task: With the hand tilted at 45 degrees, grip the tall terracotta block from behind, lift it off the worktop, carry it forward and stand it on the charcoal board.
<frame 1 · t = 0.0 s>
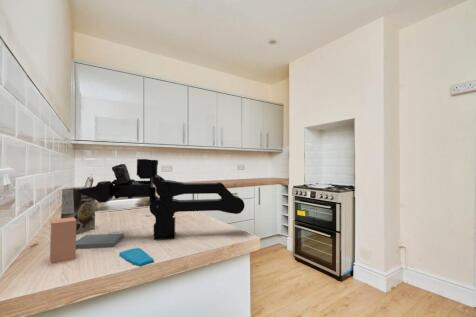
hand: (86, 189, 75), 17 cm above the counter, tool horizontal, fingers open, 9 cm apart
terracotta block: (62, 258, 60), on the counter
coffee box: (78, 231, 85), on the counter
sponge: (135, 260, 60), on the counter
slate board: (98, 242, 73), on the counter
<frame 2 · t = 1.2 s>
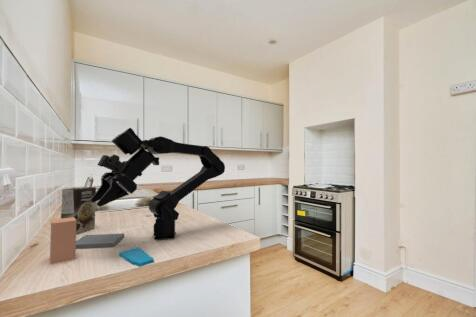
hand: (94, 203, 65), 14 cm above the counter, tool tilted 45°, fingers open, 9 cm apart
nothing on the counter moved.
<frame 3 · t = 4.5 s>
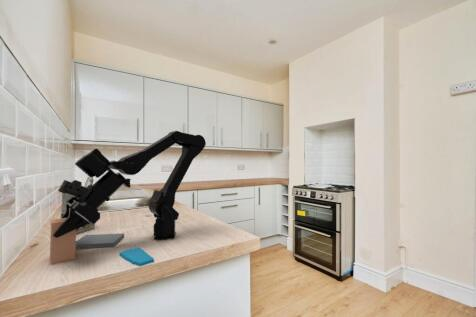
hand: (54, 234, 59), 7 cm above the counter, tool tilted 45°, fingers closed on terracotta block, 5 cm apart
terracotta block: (62, 258, 60), on the counter, touching gripper
everything else where it was.
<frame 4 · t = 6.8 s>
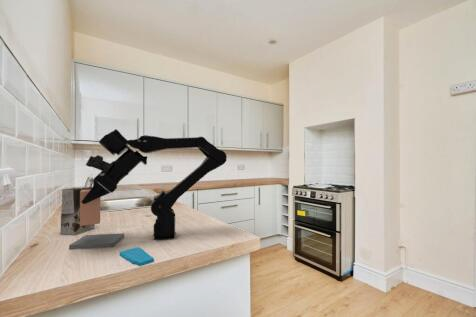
hand: (83, 201, 69), 13 cm above the counter, tool tilted 45°, fingers closed on terracotta block, 5 cm apart
terracotta block: (90, 222, 70), point 7 cm above the counter, touching gripper
everything else where it was.
when the fingers open (9 cm above the counter, at t = 9.0 s): terracotta block drops 1 cm, resting on slate board.
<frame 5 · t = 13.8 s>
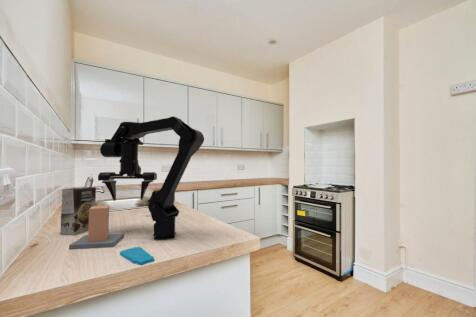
hand: (128, 200, 83), 12 cm above the counter, tool pointing down, fingers open, 9 cm apart
terracotta block: (98, 238, 73), point 1 cm above the counter, touching slate board
everything else where it was.
at the end: terracotta block inside the target area on the slate board (0.1 cm from its centre), point 1.2 cm above the slate board's base; terracotta block tilted 0°; the gripper is holding nothing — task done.
